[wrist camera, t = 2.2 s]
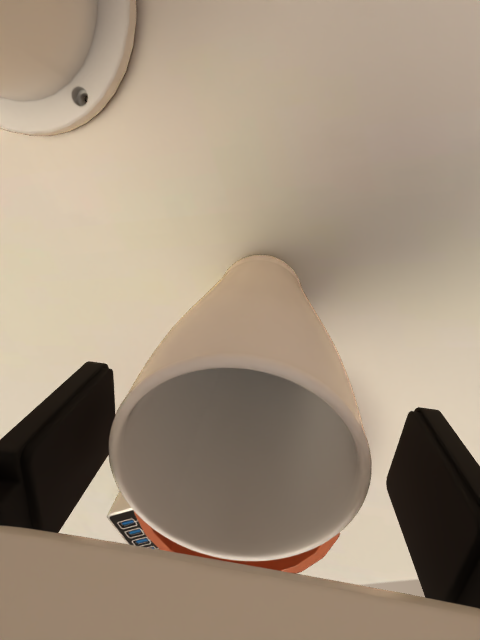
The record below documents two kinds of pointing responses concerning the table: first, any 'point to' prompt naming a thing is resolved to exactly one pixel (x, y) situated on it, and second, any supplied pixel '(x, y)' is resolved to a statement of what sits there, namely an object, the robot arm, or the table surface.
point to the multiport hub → (128, 524)
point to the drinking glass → (244, 424)
